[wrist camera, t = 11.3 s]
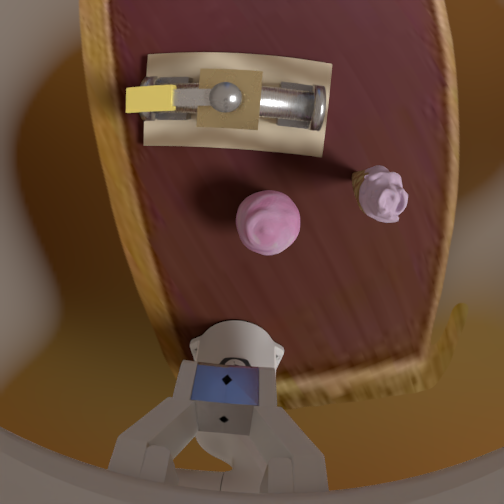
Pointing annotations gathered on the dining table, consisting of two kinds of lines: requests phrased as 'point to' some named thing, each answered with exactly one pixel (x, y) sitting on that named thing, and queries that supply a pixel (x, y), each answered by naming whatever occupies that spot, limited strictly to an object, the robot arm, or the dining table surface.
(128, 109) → the lever
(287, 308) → the dining table surface
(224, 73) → the valve assembly
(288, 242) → the cupcake
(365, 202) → the ice cream cone
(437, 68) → the dining table surface
